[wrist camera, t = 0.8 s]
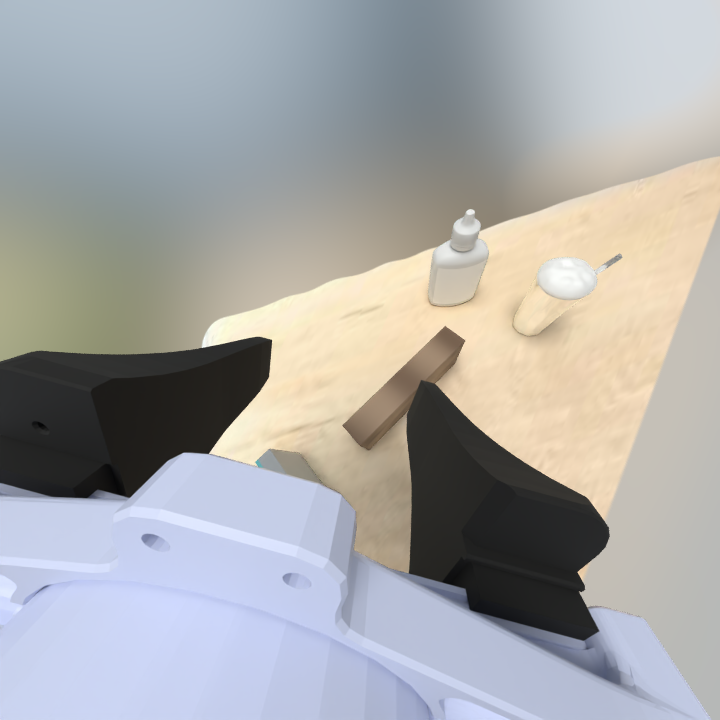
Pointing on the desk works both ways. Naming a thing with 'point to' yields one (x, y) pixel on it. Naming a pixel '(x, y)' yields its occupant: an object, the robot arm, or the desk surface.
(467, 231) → the eye dropper bottle
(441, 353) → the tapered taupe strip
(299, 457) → the tile
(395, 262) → the desk surface
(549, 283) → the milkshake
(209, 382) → the robot arm
